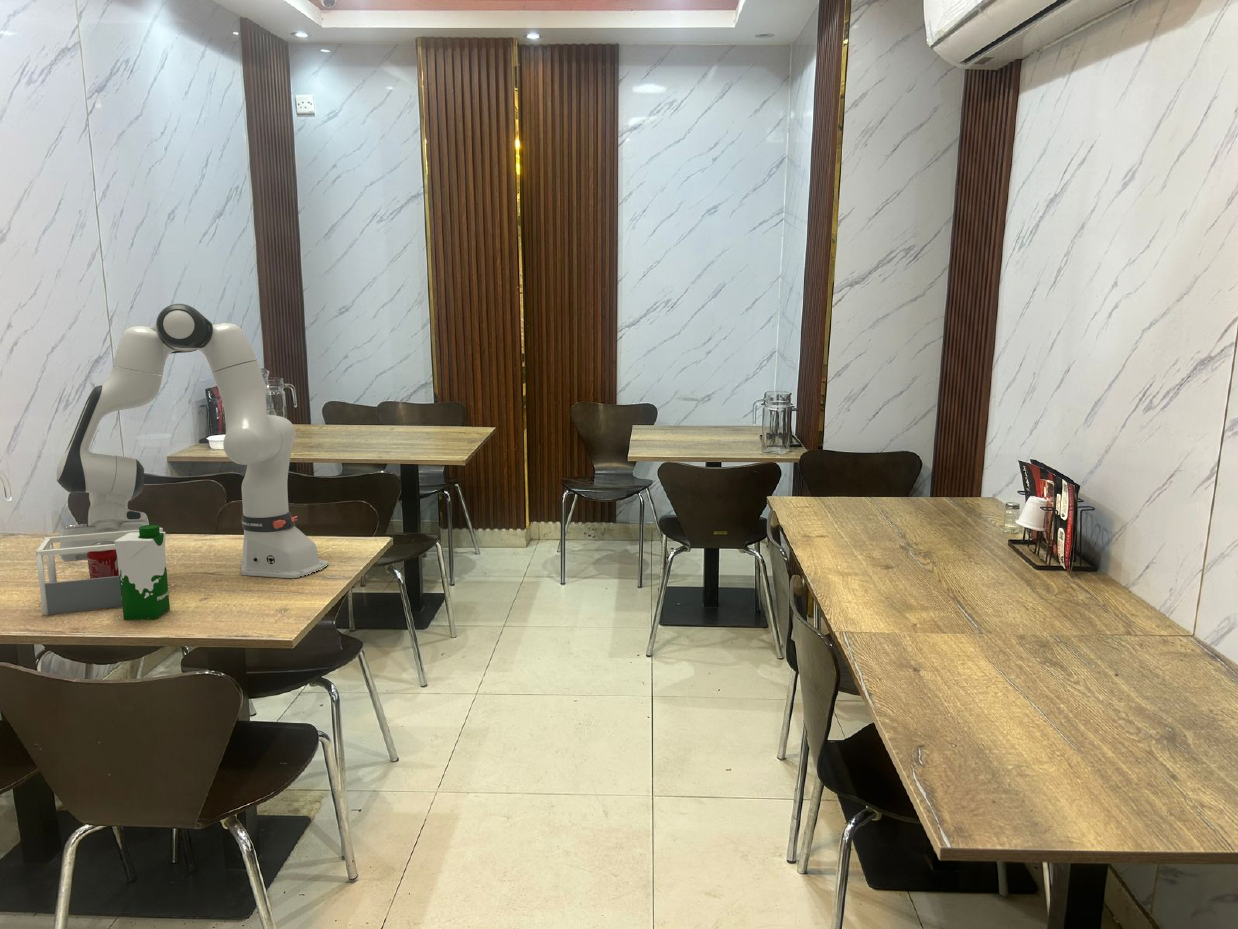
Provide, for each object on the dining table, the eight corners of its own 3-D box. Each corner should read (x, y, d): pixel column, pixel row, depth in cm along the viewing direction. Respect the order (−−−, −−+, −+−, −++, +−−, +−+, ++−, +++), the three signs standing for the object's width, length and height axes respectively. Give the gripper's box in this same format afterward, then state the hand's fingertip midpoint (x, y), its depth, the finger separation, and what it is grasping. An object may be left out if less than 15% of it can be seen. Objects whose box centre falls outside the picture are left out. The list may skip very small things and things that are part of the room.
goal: (51, 597, 218) (44, 537, 215) (167, 585, 227) (162, 527, 224) (41, 615, 206) (34, 551, 203) (164, 601, 215) (159, 540, 212)
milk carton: (159, 620, 202) (151, 531, 199) (116, 621, 202) (107, 532, 198) (176, 607, 211) (168, 522, 207) (135, 608, 211) (127, 522, 207)
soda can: (114, 599, 217) (109, 552, 213) (86, 597, 217) (79, 550, 213) (129, 586, 224) (124, 540, 220) (101, 584, 223) (96, 538, 220)
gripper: (57, 519, 222) (54, 570, 215) (152, 512, 230) (152, 561, 222) (62, 533, 227) (59, 583, 220) (155, 525, 234) (155, 574, 227)
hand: (107, 572), depth 221 cm, fingers closed, pressing on soda can
